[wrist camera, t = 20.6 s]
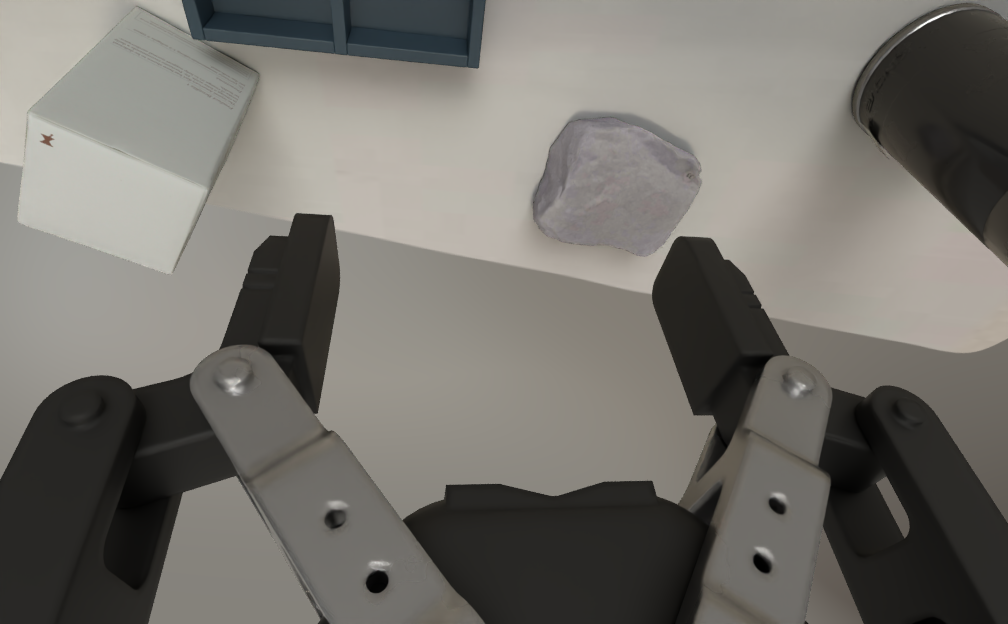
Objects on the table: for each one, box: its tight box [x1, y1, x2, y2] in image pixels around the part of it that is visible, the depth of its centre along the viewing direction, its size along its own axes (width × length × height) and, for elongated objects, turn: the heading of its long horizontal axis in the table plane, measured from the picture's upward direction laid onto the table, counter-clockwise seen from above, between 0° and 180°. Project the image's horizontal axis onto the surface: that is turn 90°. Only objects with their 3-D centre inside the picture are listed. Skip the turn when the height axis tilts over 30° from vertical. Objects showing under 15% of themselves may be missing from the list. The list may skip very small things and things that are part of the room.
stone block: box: [533, 117, 702, 257], centre depth 41 cm, size 12×5×10 cm
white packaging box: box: [17, 6, 259, 275], centre depth 30 cm, size 7×7×13 cm
